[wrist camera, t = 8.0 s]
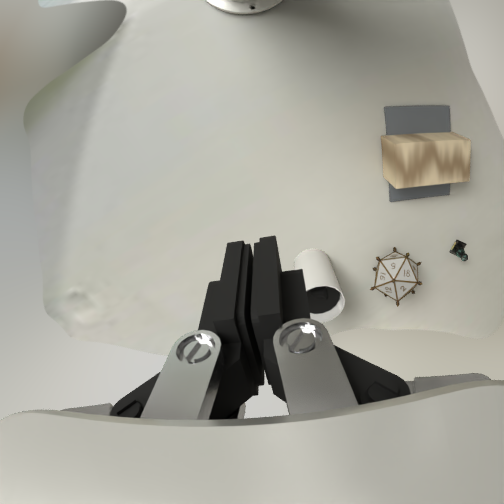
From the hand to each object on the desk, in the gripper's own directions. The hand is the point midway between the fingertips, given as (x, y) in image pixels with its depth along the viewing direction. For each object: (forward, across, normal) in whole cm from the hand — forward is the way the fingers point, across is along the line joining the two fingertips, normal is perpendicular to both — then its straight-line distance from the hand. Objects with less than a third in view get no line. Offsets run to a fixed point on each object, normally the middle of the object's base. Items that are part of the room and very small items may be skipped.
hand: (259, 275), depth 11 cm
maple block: (+30, -16, +6) cm, 35 cm away
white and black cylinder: (+33, -4, +22) cm, 40 cm away
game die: (+33, -17, +24) cm, 44 cm away
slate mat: (+33, -22, +6) cm, 40 cm away
